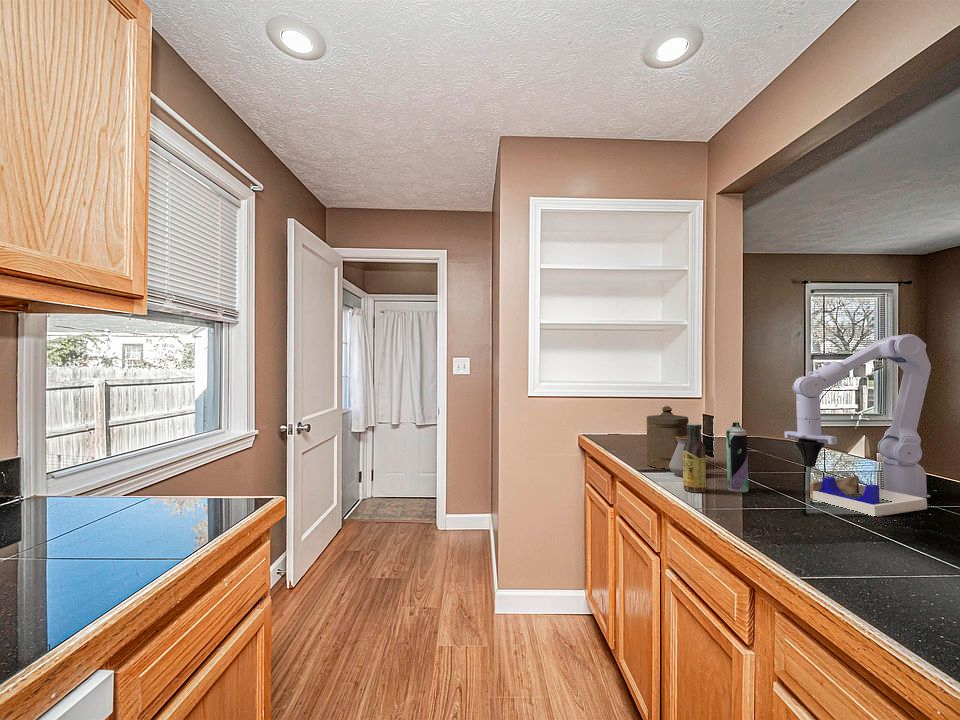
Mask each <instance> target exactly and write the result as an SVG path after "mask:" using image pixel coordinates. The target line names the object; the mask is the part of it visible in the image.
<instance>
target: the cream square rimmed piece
mask: <svg viewBox="0 0 960 720" xmlns="http://www.w3.org/2000/svg"><path fill="white" fill-rule="evenodd" d="M853 477H855V478H856V484H857V493H859V494H858V495H860V494H864V492H865V487H866V485H862V484H860V481H859V480H860V479H859V475H854V476H853ZM859 484H860V485H859ZM879 498H880V500H882V499H884V500H883V501H886V500H888V501H887V502H884V503H880V504H876V505H872V504H868V503H864V502H860V501H855V500H851V499H847V498H843V497H839V496H835V495H831V494H827V493H822V492H818V491H813V499H812V501H813V500H817V501H821V502H825V503H828V504H831V505H830V506H832V505H835V506H834V507H836V506H839V507H838V508H840V507H843V508H847V509H850V510H849V511H851V510H854V511H853V512H855V511H858V512H857V513H859V512H861V513H860V514H862V513H864V514H863V515H866V514H868V515H867V516H870V515H871V517H874V516H877V517H883V515H884V516H890V515H895V514H901V513H909V512H914V511H915V512H916V511H923V510H927V509H928V501H927V500H928V499H927V498H921V497H916V496H911V495H906V494H902V493H897V492H892V491H887V490H884V488H883V489H882V488H879ZM817 501H816V502H817ZM890 501H892V502H890ZM821 502H820V503H821ZM828 504H827V505H828ZM843 508H842V509H843ZM847 509H846V510H847Z"/></svg>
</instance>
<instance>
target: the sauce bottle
mask: <svg viewBox="0 0 960 720" xmlns="http://www.w3.org/2000/svg"><path fill="white" fill-rule="evenodd" d="M706 459H707V456H706V446H705V445H704V442H703V441H702V423H698V422H697V423H696V422H688V424H687V440H686V443H685V446H684V449H683V477H682V483H683V489H684V490H685V491H686V492H689V493H704V492H706V490H707V489H706V486H707V478H706V477H707V475H706V474H707V471H706V470H707V469H706V468H707V462H706Z"/></svg>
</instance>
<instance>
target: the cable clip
mask: <svg viewBox="0 0 960 720" xmlns="http://www.w3.org/2000/svg"><path fill="white" fill-rule="evenodd" d="M835 479H836V477H834V476H826V477H825V476H823V477H822V480H821V481H822V484H823V489H820V490H819V492H822V493H827V494H831V495H835V496H839V497H843V498H847V499H851V500H855V501H860V502H864V503H868V504H872V505H876V504H881V503H880V500H881V499H879V489H880V485H878V484H873V483H872V484H867V485H865V486H866V487H865V492H864V494H863V495H860V496H859V497H857V498H856V497H851V496H849V495H845V494H844V493H843V492H842V491H841V490H840V489H839V488H838V486H837V484H836V482H835Z"/></svg>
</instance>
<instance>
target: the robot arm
mask: <svg viewBox="0 0 960 720" xmlns="http://www.w3.org/2000/svg"><path fill="white" fill-rule="evenodd" d="M926 348H927V344H926V342H924V341H923V340H922V339H921V338H920V337H919V336H917V335H916V334H911V333H907V334H901V335H887V336H884V337H883V338H881V339H878V340H875V341H874V342H872V343H870V344H868V345H867V346H865V347H863V348H862V349H859V351H857V352H855V353H854V354H852V355H850V356H848V357H846V358H845V359H843V360H841V361H837V360H833V361H825V362H823V363H822V365H823V366H821V367H818V368H817V369H816V370H814V371H807V373H806V374H807V376H800V377H797V378H796V379H795V381H794V382H793V385H792V386H791V389H792V391H793V393H794V394H795V396H796V397H795V398H796V403H795V405H796V426H797V427H796V429H797V431H793V430H786V431H784V432H783V433H784V438H785V439H794V440H796V441H795V443H794V444H795V445H796V447H797V449H798V450H799V453H800V454H801V456H802V459H803V461H804V466H805V467H807V468H814V467H816V465H817V460H818V457H819V454H820V452H821V451H822V449H823V447H824V446H825V444H828V445H837V444H838V443H837V442H838V441H837V436H831V435H827V434H822V425H821V424H822V419H821V417H822V416H821V398H820V397H821V395H822V394H823V392H824V391H825V390H826V389H828V388H829V389H830V387H832V386H835V385H836V384H837V383H840V382H842V381H843V380H845V379H847V378H848V374H849V372H850V371H853V370H854V369H856V368H857V369H858V368H859V367H860V366H863V365H865V364H867V363H869V362H871V361H873V360H876V359H878V358H886V359H888V360H890V361H892V362H894V363H895V364H896V365H897V366H899V368H900V369H901V370H902V371H903V373H902V377H901V378H902V379H901V382H900V386H899V391H898V395H897V399H896V404H895V408H894V413H893V415H892V416H893V418H892V422H891V426H890V427H888V429H886V430H885V432H884V435H883V437H882V439H880V441H878V444H877V451H878V453H879V454H880V455H881V456H882V457H883V458H882V474H883V490H887V491H892V492H897V493H902V494H906V495H911V496H916V497H921V498H925V499H927V498H930V497H931V495H930V494H928V492H927V491H928V490H927V472H926V471H925V469H924V467H923V466H922V465H920V463H919V462H920V461H921V459H922V457H923V451H922V448H921V442H922V439H921V437H920V435H919V432H918V431H917V430H918V426H919V421H920V418H921V412H922V408H923V405H924V400H925V396H926V391H927V387H928V383H929V380H930V379H929V378H930V374H931V371H932V365H931V362H930V359H929V356H928V354H927V349H926Z"/></svg>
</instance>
